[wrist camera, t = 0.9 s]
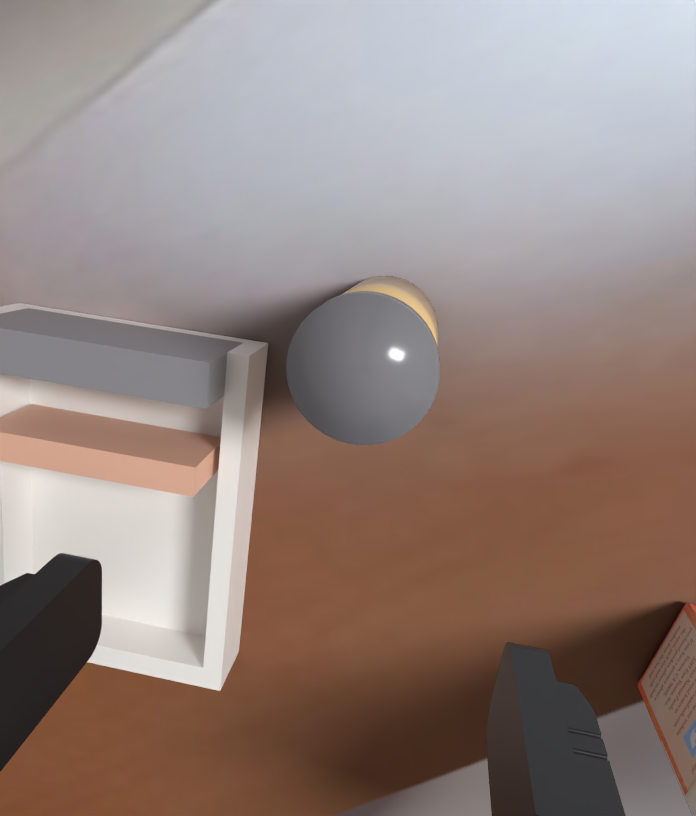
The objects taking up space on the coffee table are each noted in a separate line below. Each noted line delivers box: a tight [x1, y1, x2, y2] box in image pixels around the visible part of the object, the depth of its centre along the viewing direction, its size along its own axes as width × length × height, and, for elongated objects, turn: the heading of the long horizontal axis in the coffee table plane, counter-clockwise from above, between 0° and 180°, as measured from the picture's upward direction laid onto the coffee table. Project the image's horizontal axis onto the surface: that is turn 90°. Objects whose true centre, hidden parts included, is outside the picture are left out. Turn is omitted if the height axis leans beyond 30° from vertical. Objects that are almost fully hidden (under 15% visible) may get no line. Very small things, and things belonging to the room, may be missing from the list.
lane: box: [0, 303, 268, 691], centre depth 31 cm, size 18×13×5 cm
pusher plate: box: [0, 404, 221, 497], centre depth 30 cm, size 1×10×4 cm, turn 82°
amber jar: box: [286, 276, 440, 445], centre depth 26 cm, size 5×5×9 cm
